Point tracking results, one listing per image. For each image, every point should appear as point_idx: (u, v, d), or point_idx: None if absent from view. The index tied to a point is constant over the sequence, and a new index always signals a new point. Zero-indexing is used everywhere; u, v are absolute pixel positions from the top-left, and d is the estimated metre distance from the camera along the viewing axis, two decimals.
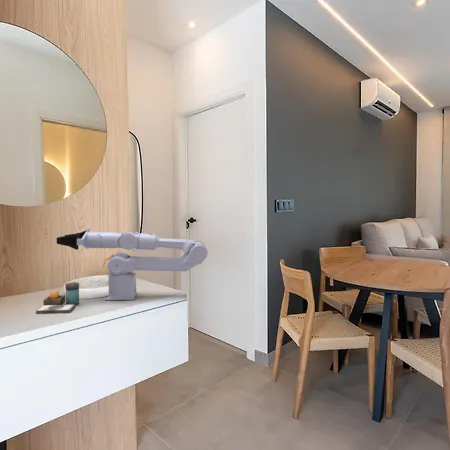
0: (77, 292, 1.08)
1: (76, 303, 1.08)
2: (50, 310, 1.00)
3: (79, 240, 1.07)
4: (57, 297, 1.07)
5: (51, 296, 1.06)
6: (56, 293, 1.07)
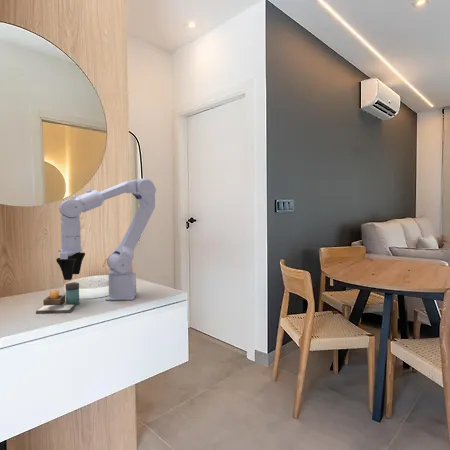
0: (77, 292, 1.08)
1: (76, 303, 1.08)
2: (50, 310, 1.00)
3: (61, 256, 1.00)
4: (57, 297, 1.07)
5: (51, 296, 1.06)
6: (56, 293, 1.07)
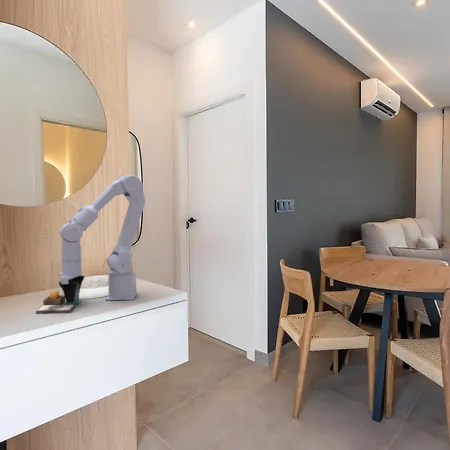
0: (77, 292, 1.08)
1: (76, 303, 1.08)
2: (50, 310, 1.00)
3: (62, 281, 1.01)
4: (57, 297, 1.07)
5: (51, 296, 1.06)
6: (56, 293, 1.07)
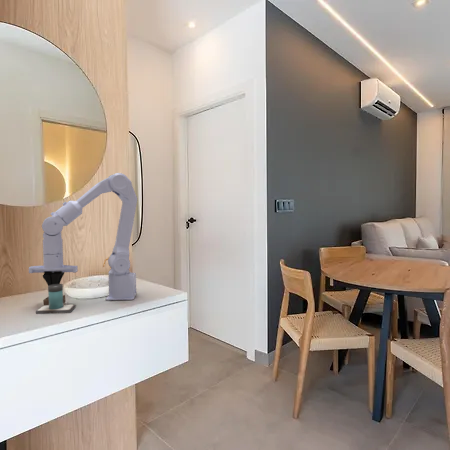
0: (60, 294, 1.02)
1: (59, 305, 1.02)
2: (50, 310, 1.00)
3: None
4: None
5: None
6: None
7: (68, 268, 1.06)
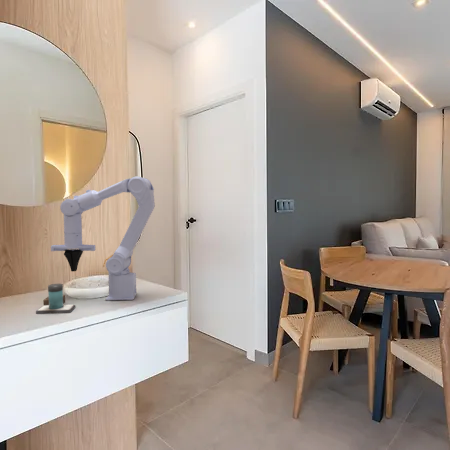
0: (60, 294, 1.02)
1: (59, 305, 1.02)
2: (50, 310, 1.00)
3: None
4: None
5: None
6: None
7: (87, 247, 1.15)
